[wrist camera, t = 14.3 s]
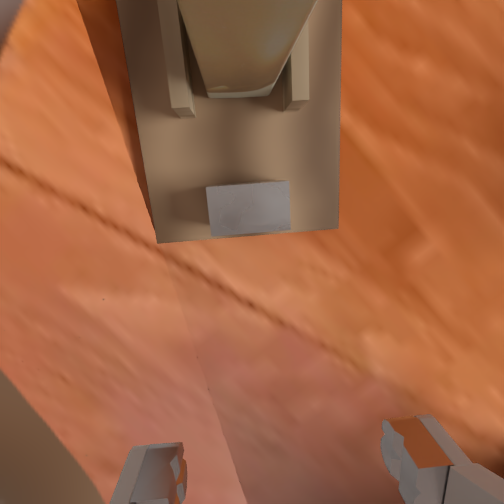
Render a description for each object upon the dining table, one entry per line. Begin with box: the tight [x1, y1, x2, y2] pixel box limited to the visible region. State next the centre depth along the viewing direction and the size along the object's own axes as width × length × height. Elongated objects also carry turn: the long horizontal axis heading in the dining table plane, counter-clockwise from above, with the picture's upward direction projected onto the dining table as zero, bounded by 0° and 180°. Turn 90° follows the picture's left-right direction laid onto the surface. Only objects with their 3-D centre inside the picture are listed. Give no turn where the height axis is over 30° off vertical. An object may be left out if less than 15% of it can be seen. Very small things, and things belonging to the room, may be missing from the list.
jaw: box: [206, 180, 291, 236], centre depth 18 cm, size 5×3×4 cm, turn 94°
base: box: [116, 0, 342, 244], centre depth 18 cm, size 14×18×4 cm
